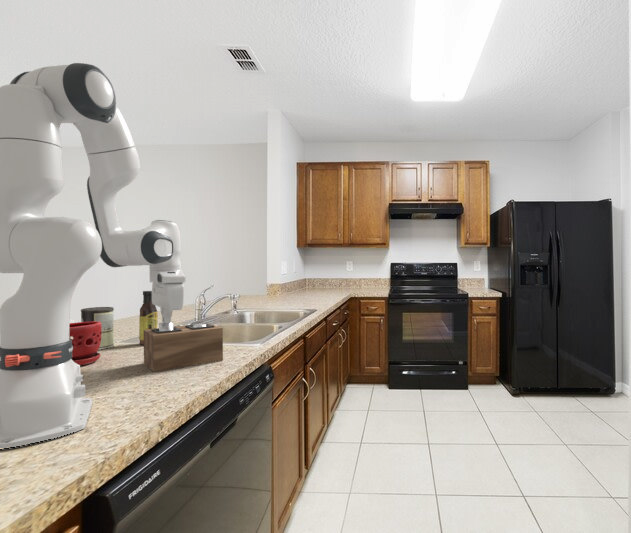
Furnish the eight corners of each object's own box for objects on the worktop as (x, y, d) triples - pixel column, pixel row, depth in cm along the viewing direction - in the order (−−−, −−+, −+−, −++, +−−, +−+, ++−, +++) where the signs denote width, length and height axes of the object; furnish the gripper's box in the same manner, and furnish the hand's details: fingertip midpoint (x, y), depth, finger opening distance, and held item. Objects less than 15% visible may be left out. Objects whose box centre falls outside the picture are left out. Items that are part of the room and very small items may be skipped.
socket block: (222, 360, 116) (222, 326, 116) (154, 372, 104) (153, 334, 104) (208, 353, 126) (208, 321, 126) (143, 363, 114) (143, 328, 114)
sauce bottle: (150, 345, 138) (150, 291, 138) (135, 345, 139) (134, 291, 139) (161, 342, 144) (160, 290, 144) (146, 341, 146) (146, 290, 146)
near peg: (175, 356, 112) (175, 323, 112) (161, 358, 109) (161, 324, 109) (171, 354, 115) (171, 321, 115) (157, 356, 112) (157, 322, 112)
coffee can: (77, 351, 130) (76, 310, 130) (85, 345, 140) (85, 307, 140) (110, 349, 133) (110, 309, 133) (116, 343, 143) (116, 306, 143)
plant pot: (105, 356, 123) (105, 319, 123) (97, 366, 111) (96, 325, 111) (58, 360, 119) (57, 322, 119) (44, 371, 106) (43, 328, 106)
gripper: (146, 275, 118) (146, 319, 119) (164, 277, 102) (165, 328, 102) (167, 274, 122) (167, 317, 122) (187, 276, 106) (188, 326, 106)
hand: (166, 322), depth 112 cm, fingers closed, pressing on near peg
